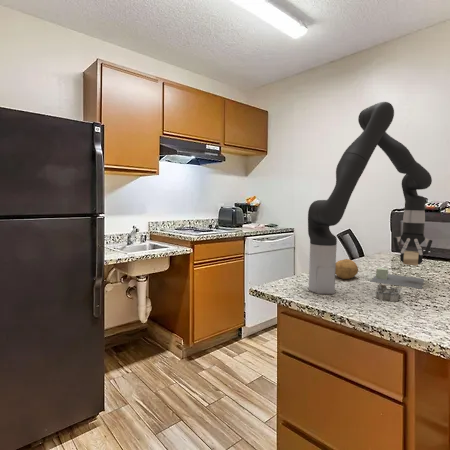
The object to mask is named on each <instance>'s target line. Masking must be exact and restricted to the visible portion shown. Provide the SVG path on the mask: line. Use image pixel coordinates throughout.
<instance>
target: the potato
mask: <svg viewBox="0 0 450 450" xmlns="http://www.w3.org/2000/svg"><path fill="white" fill-rule="evenodd" d="M358 272H359V268H358V265H357V264H356V262H355V261H354V260H351V259H348V258H344V259H341V260H337V261H336V271H335V276H337V277H338V278H340V279H342V280H349V279H352V278H354V277H355V276H357V274H358Z"/></svg>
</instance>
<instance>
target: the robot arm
mask: <svg viewBox="0 0 450 450" xmlns="http://www.w3.org/2000/svg"><path fill="white" fill-rule="evenodd" d="M394 117H395V109H394V106H393V104H392V103H390V102H389V101H381V102H377V103H375V104H373V105H370V106H368V107H366V108H364V109H362V110H361V111H360V113H359V115H358V124H359V126H360V128H361V129H362V132H361V133H360V135H358V137H357V138H356V139H354V141H352V142H351V144H349V146H348V147H347V148H346V149H345V150H344V152H343V154H342V155H341V158H340V159H339V161H338V163H337V165H336V168H335V179H336V180H335V185H334V188H333V189H332V192H331V194H330V195H329V197H328V198H327V199H319V200H314V201H313V202H312V203H311V204H310V205H309V207H308V212H307V234H308V238H309V261H308V262H309V264H308V265H309V268H308V290H309V291H310V292H312V293H316V294H323V295H325V294H328V295H331V294H332V295H333V294H335V291H336V290H335V289H336V274H335V271H336V262H337V247H338V246H337V244H338V239H337V236H336V235H334V233H332V231H331V229H330V227H333V226H336V225H338V224H339V223H340V222H341V220H342V219H343V217H344V214H345V212H346V208H347V207H348V204H349V202H350V198H351V196H352V194H353V192H354V190H355V189H356V186H357V184H358V183H359V180H360V178H361V176H362V175H363V173H364V171H365V169H366V167H367V165H368V164H369V161H370V160H371V159H370V158H371V157H372V155H373V154H374V151H375V150H376V148H377V146H378V148H380V150H382V152H384V154H385V155H386V156H387V157H388V159H389V160H390V161H391V163H392V165H393V167H394V168H395V169H396V170H397V172H398V173H400V174H403V175H404V176H403V177H402V179H401V189H402V193H403V197H404V212H403V218H402V230H401V231H402V233H401V235H400V236H394V237H393V243H394V247H395V251H396V252H398V253H400V257H399V258H400V262H401V263H403V260H404V251H407V248H408V247H414V248H416V250H417V252H419V256H418V265H421V264H422V263H423V255H428V254H429V252H430V249H431V246H432V244H433V239H432V238H431V239H430V238H426V236H425V223H426V213H425V212H426V211H425V210H426V198H425V196H423V195H419V194H418V190H421V191H422V190H426V189H428V188H429V187H430V186H431V185H432V183H433V182H432V181H433V179H432V176H431V174H430V172H429V171H428V170H427V169H426V168H425V167H424V166H423V165H421V164H420V163H419V162H417V160H415V158H414V156H413V155H412V153H411V152H410V149H408V148H407V146H405V145H404V144H403V143H402V142H400V141H398V140H397V139H395V138H393V137H392V136H391V135H390V134H388V133H387V130H388V128H390V125H391V124H392V122H393V119H394ZM401 241H402V242H403V245H402V248H400V244H399V243H400V242H401ZM424 242H425V245H426V248H425V250H424V251H423V250H422V246H421V244H423V243H424Z"/></svg>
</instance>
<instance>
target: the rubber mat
mask: <svg viewBox="0 0 450 450" xmlns="http://www.w3.org/2000/svg"><path fill="white" fill-rule="evenodd" d="M424 281H425V278H421V277H414V276H413V277H412V276H405V275H398V274H389V273H388V278H387V280H386V279H379V278H376V275H374V276H373V277H372V279H371V280H370V283H378V284H379V283H381V284H383V285H391V286H399V287H405V288H413V289H420V290H422V289H423V286H424Z"/></svg>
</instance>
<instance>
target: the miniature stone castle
mask: <svg viewBox="0 0 450 450" xmlns="http://www.w3.org/2000/svg"><path fill="white" fill-rule="evenodd" d="M401 291H402V287H401V288H398V287H395V288H393V286H390V288H388V286H387V284H383V283H378V286H377V287H376V289H375V294H376V295H375V296H376V297H375V298H376V299H378V300H381V301H383V300H386V301H389V302H399V299H400V293H401Z"/></svg>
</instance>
